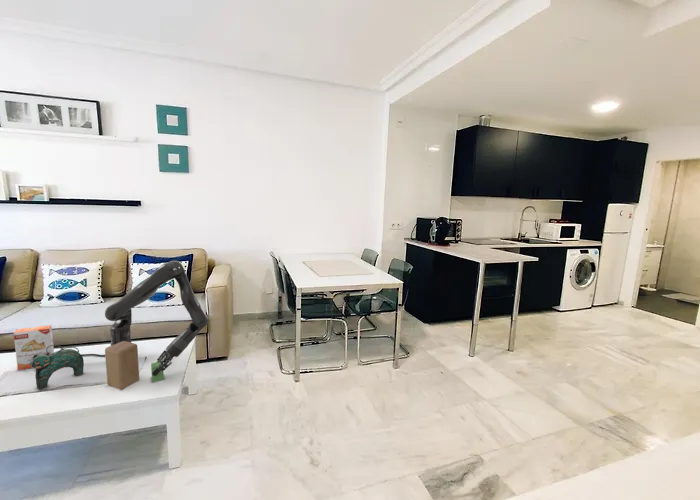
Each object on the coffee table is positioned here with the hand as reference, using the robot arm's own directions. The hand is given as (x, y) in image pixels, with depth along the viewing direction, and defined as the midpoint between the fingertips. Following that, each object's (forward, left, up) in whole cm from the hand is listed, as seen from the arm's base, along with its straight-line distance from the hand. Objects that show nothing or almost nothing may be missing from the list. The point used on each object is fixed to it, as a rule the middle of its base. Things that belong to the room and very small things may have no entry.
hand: (153, 372), depth 169 cm
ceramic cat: (-39, -20, -4) cm, 44 cm away
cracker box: (-66, -16, -4) cm, 68 cm away
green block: (+1, +2, -4) cm, 4 cm away
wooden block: (-10, -8, -4) cm, 14 cm away
